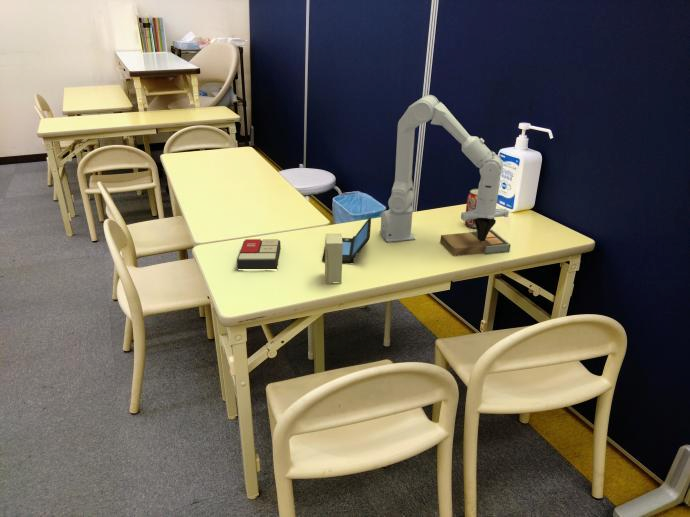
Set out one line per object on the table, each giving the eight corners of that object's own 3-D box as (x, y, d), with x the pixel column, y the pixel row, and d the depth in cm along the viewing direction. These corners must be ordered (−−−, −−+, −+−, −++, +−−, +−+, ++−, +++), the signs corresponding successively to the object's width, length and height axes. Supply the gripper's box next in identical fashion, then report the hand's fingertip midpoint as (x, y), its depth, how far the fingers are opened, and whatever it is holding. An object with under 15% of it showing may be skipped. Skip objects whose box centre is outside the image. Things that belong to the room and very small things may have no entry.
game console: (327, 241, 164) (327, 214, 160) (370, 243, 164) (371, 216, 160) (321, 263, 151) (321, 234, 147) (368, 265, 150) (369, 237, 146)
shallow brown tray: (453, 256, 156) (454, 248, 154) (440, 242, 164) (440, 235, 163) (484, 252, 158) (485, 245, 157) (469, 239, 166) (470, 232, 165)
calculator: (280, 237, 158) (276, 257, 144) (280, 250, 160) (277, 271, 146) (243, 237, 157) (236, 257, 144) (244, 251, 159) (237, 272, 145)
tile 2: (503, 242, 159) (502, 248, 160) (496, 237, 162) (495, 243, 163) (491, 244, 158) (490, 250, 159) (484, 238, 161) (483, 244, 162)
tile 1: (495, 236, 163) (494, 242, 164) (489, 231, 166) (488, 237, 167) (483, 237, 162) (482, 243, 163) (477, 232, 165) (477, 238, 166)
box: (485, 254, 157) (486, 247, 156) (468, 238, 167) (469, 231, 166) (509, 251, 159) (510, 244, 158) (491, 236, 169) (492, 229, 168)
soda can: (485, 230, 173) (490, 196, 168) (464, 228, 174) (468, 194, 169) (485, 222, 179) (489, 189, 174) (464, 220, 181) (468, 187, 175)
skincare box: (324, 273, 145) (324, 233, 139) (340, 272, 145) (341, 232, 140) (325, 284, 139) (325, 243, 134) (342, 284, 140) (343, 242, 134)
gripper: (470, 204, 148) (465, 247, 154) (516, 200, 151) (509, 243, 157) (459, 195, 154) (455, 237, 160) (504, 192, 157) (497, 233, 163)
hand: (481, 240), depth 159 cm, fingers closed
